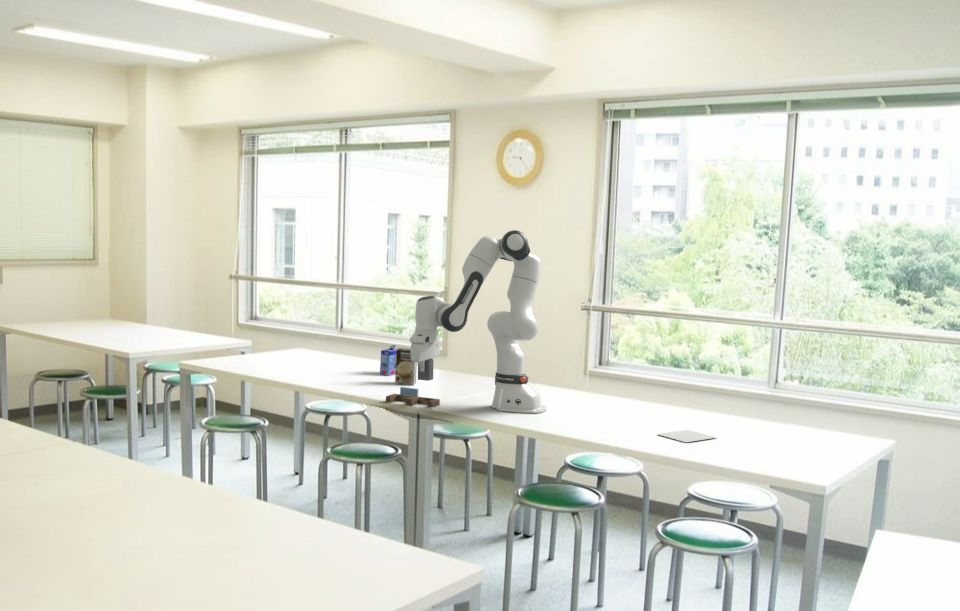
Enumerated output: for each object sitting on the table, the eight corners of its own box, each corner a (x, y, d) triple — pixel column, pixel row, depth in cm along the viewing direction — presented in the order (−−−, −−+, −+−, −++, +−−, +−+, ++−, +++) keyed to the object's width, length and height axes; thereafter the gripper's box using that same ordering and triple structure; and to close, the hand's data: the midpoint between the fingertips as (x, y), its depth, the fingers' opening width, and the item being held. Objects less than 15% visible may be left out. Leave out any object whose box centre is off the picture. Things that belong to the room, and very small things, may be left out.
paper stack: (738, 445, 304) (738, 443, 304) (690, 452, 289) (691, 450, 289) (687, 431, 323) (687, 429, 323) (640, 438, 308) (640, 436, 308)
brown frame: (443, 403, 355) (443, 391, 354) (432, 408, 345) (432, 395, 345) (397, 398, 362) (398, 386, 362) (385, 402, 353) (386, 390, 352)
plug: (433, 379, 350) (433, 359, 349) (429, 380, 346) (429, 360, 346) (421, 378, 352) (422, 358, 351) (417, 379, 348) (418, 359, 347)
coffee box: (394, 384, 396) (395, 349, 395) (397, 382, 402) (398, 348, 401) (414, 385, 395) (415, 350, 394) (416, 383, 401) (417, 349, 400)
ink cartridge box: (388, 376, 418) (389, 346, 417) (379, 374, 421) (380, 345, 420) (399, 373, 427) (400, 344, 426) (390, 372, 430) (391, 343, 429)
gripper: (429, 333, 358) (429, 366, 359) (407, 338, 339) (407, 373, 341) (443, 334, 356) (443, 367, 357) (422, 339, 337) (422, 374, 338)
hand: (425, 370), depth 349 cm, fingers closed on plug, 4 cm apart
